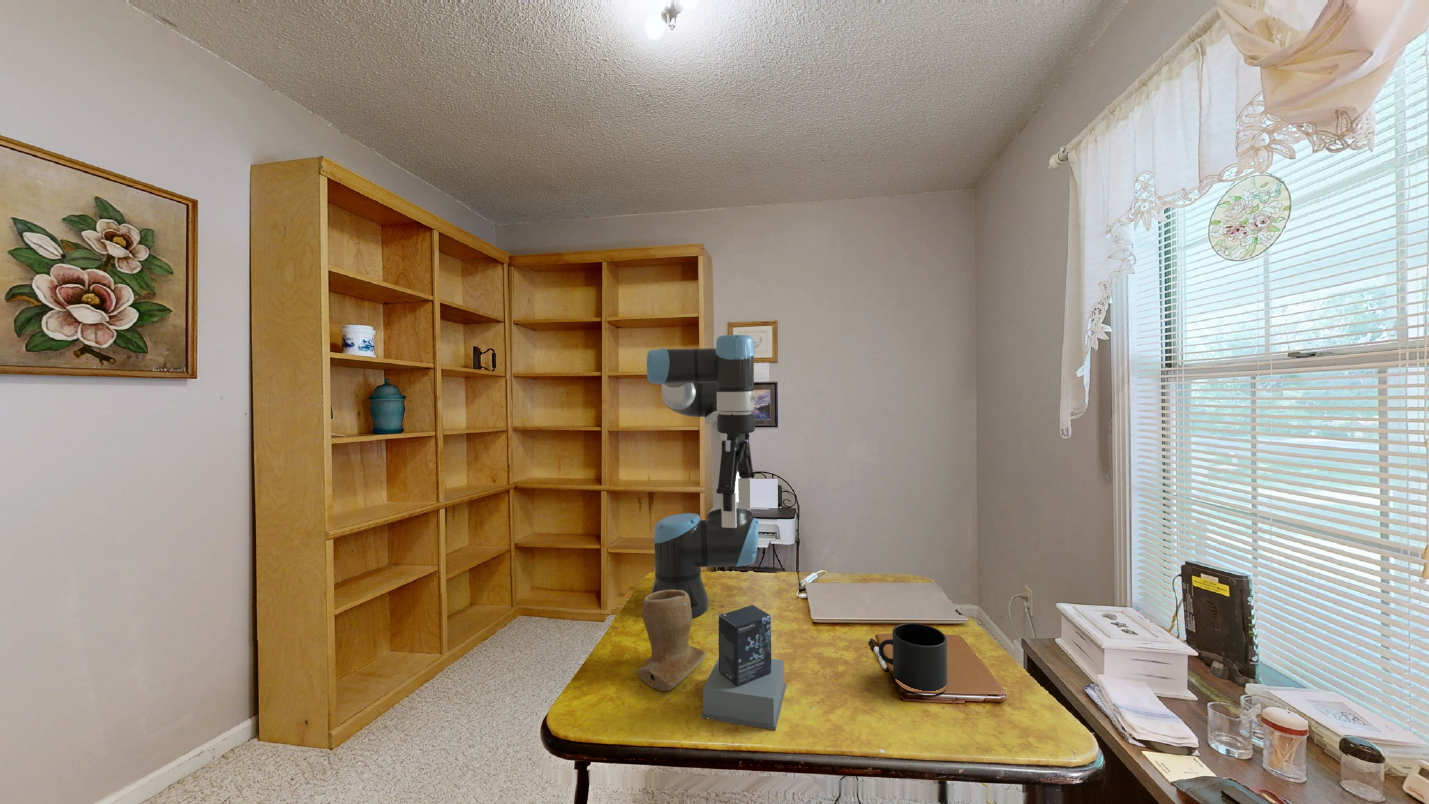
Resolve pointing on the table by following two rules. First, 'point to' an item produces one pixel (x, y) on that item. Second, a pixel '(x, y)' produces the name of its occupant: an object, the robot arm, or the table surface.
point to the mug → (918, 656)
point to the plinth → (745, 698)
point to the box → (744, 644)
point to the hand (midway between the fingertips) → (737, 517)
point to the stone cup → (668, 639)
